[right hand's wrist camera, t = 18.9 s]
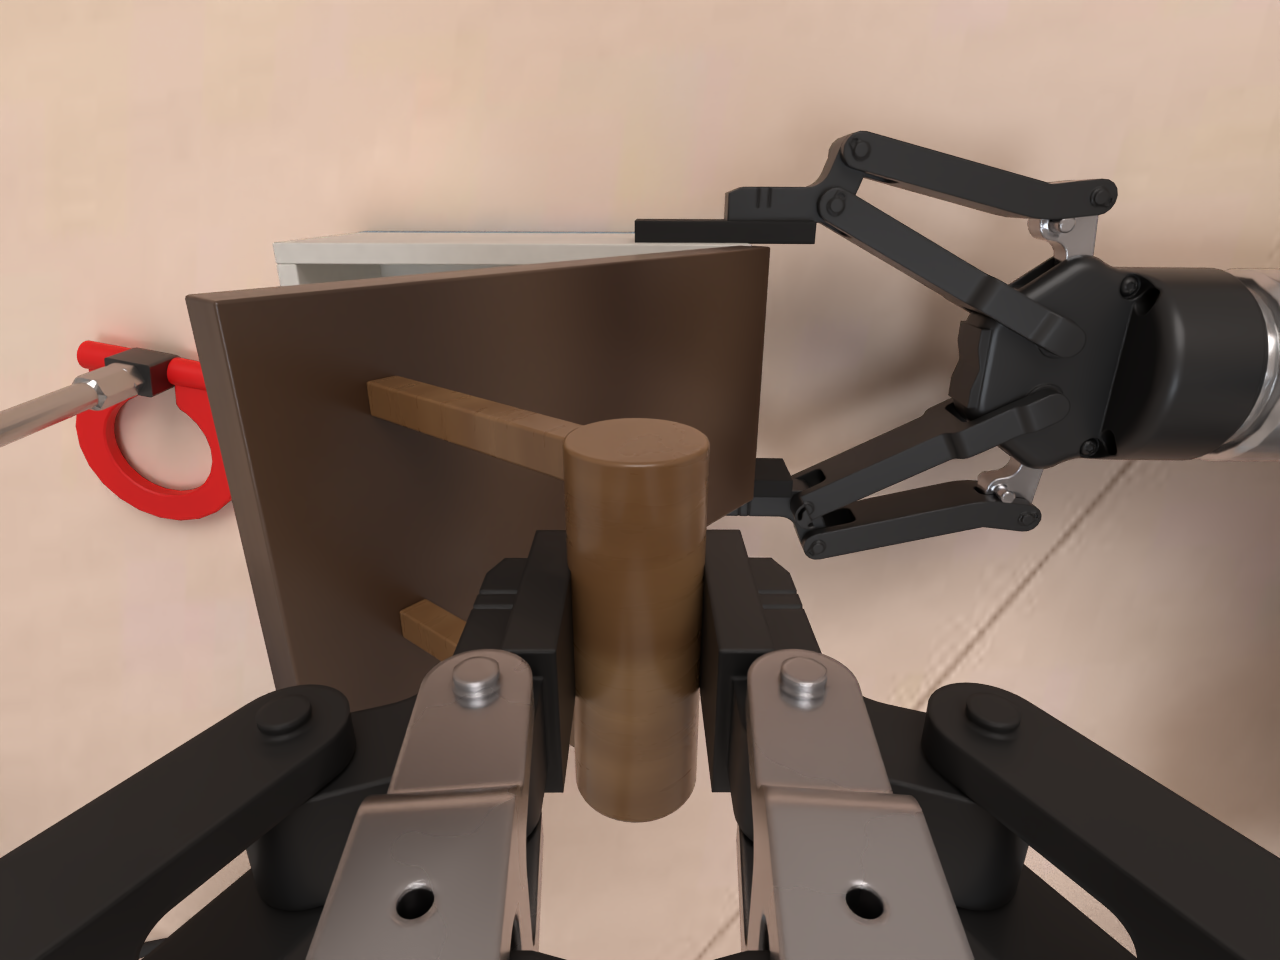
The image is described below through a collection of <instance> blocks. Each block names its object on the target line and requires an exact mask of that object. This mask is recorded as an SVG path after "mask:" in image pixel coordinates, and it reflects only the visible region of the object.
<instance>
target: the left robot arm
mask: <svg viewBox="0 0 1280 960" xmlns="http://www.w3.org/2000/svg"><path fill="white" fill-rule="evenodd" d="M863 178H866V179H870V180H873V181H877V182H880V183H884V184H887V185H891V186H895V187H898V188H902V189H905V190H909V191H912V192H916V193H920V194H923V195H927V196H930V197H934V198H937V199H941V200H945V201H948V202H952V203H955V204H959V205H962V206H966V207H970V208H973V209H977V210H980V211H984V212H987V213H991V214H995V215H999V216H1004V217H1013V218H1028V219H1029V220H1028V223H1027V224H1028V230H1029V232H1030V234H1031V235H1032V237H1034V238H1036V239H1040V240H1045V241H1047V242H1049V243H1050V244H1051V246H1052V248H1053V250H1054V256H1053V257H1051V258H1049V259H1048V260H1046V261H1044V262H1043V263H1041V264H1040V265H1038V266H1037V267H1035V268H1034V269H1032V270H1030V271H1029V272H1027V273H1026V274H1024V275H1023V276H1021V277H1020V278H1018V279H1016V280H1015V281H1013V282H1012V283H1010V284H1009V285H1007V284H1006V283H1004V282H1002V281H1000V280H998V279H996V278H994V277H992V276H990V275H988V274H986V273H984V272H982V271H981V270H979V269H977V268H976V267H974V266H972V265H971V264H969V263H967V262H966V261H964V260H962V259H961V258H959V257H957V256H956V255H954V254H952V253H951V252H949V251H947V250H946V249H944V248H942V247H941V246H939V245H937V244H936V243H934V242H932V241H931V240H929V239H927V238H926V237H924V236H922V235H921V234H919V233H917V232H916V231H914V230H912V229H911V228H909V227H907V226H906V225H904V224H902V223H901V222H899V221H897V220H896V219H894V218H892V217H891V216H889V215H887V214H886V213H884V212H882V211H881V210H879V209H877V208H876V207H874V206H872V205H871V204H869V203H867V202H866V201H864V200H862V199H861V198H859V197H857V196H856V193H857V190H858V188H859V186H860V184H861V182H862V179H863ZM1117 196H1118V193H1117V187H1116V185H1115V183H1114V182H1112V181H1111V180H1109V179H1087V180H1066V181H1056V182H1044V181H1040V180H1037V179H1033V178H1030V177H1026V176H1023V175H1019V174H1016V173H1012V172H1009V171H1005V170H1002V169H998V168H994V167H991V166H987V165H984V164H980V163H977V162H973V161H970V160H966V159H963V158H959V157H956V156H952V155H949V154H945V153H942V152H938V151H935V150H931V149H928V148H924V147H921V146H917V145H914V144H910V143H907V142H903V141H900V140H896V139H893V138H889V137H885V136H882V135H878V134H875V133H871V132H868V131H858V132H856V133H852V134H849V135H846V136H843V137H841V138H839V139H837V140H836V141H835V142H833V143H832V145H831V147H830V149H829V153H828V159H827V161H826V164H825V166H824V168H823V171H822V173H821V175H820V177H819V178H818V179H817V180H816V181H815V182H814V183H813V184H811V185H810V186H807V187H739V188H736V189H734V190H732V191H729V192H727V193H725V212H724V219H637V220H635V243H749V244H815V233H816V223H820V224H822V225H823V226H825V227H827V228H829V229H830V230H832V231H834V232H835V233H837V234H839V235H840V236H842V237H844V238H846V239H847V240H849V241H851V242H852V243H854V244H856V245H857V246H859V247H861V248H863V249H864V250H866V251H868V252H869V253H871V254H873V255H874V256H876V257H878V258H879V259H881V260H883V261H885V262H886V263H888V264H890V265H891V266H893V267H895V268H896V269H898V270H900V271H902V272H903V273H905V274H907V275H908V276H910V277H912V278H913V279H915V280H917V281H919V282H920V283H922V284H924V285H925V286H927V287H929V288H930V289H932V290H934V291H936V292H937V293H939V294H941V295H942V296H943V297H944V298H946V299H947V300H949V301H951V302H952V303H954V304H956V305H957V306H959V307H961V308H963V309H964V310H966V311H968V312H969V313H970V315H969V317H968V318H967V321H961V323H960V329H959V335H958V348H959V361H958V364H957V366H956V368H955V370H954V373H953V375H952V377H951V382H950V388H949V394H948V395H949V396H950V397H952V398H950V399H948V400H946V401H944V402H942V403H939V404H937V405H935V406H933V407H931V408H929V409H928V410H926V411H925V413H924V415H923V416H921V417H920V418H918V419H915V420H913V421H911V422H909V423H906V424H904V425H902V426H900V427H898V428H895V429H893V430H891V431H889V432H887V433H884V434H882V435H880V436H878V437H876V438H873V439H871V440H869V441H867V442H865V443H862V444H860V445H858V446H856V447H854V448H851V449H849V450H847V451H845V452H843V453H840V454H838V455H836V456H834V457H831V458H829V459H827V460H825V461H823V462H820V463H818V464H816V465H814V466H812V467H809V468H807V469H805V470H803V471H801V472H798V473H796V474H794V475H792V476H791V475H790V473H789V471H788V469H787V467H786V465H785V463H784V460H783V458H756V464H755V479H754V494H753V500H751V501H749V502H747V503H746V504H744V505H742V506H741V507H739V508H737V509H736V510H734V511H732V512H730V513H729V514H727V515H725V516H738V515H740V516H748V515H749V516H780V517H785V518H788V519H790V520H791V521H792V522H793V524H794V528H795V530H796V533H797V536H798V538H799V540H800V543H801V545H802V547H803V550H804V552H805V554H806V555H807V556H808V557H809V558H811V559H824V558H829V557H834V556H839V555H844V554H849V553H854V552H859V551H864V550H869V549H874V548H879V547H884V546H889V545H894V544H899V543H904V542H909V541H914V540H920V539H925V538H930V537H935V536H940V535H945V534H950V533H955V532H960V531H965V530H970V529H975V528H980V527H988V528H996V529H1005V530H1014V531H1029V530H1031V529H1034V528H1035V527H1036V526H1037V525H1038V524H1039V522H1040V520H1041V513H1040V510H1039V509H1038V508H1037V507H1035V506H1034V505H1033V504H1032V500H1033V498H1034V495H1035V492H1036V489H1037V486H1038V483H1039V480H1040V477H1041V474H1042V472H1043V469H1046V468H1050V467H1053V466H1055V465H1057V464H1059V463H1061V462H1064V461H1067V460H1070V459H1075V458H1090V459H1116V460H1191V459H1195V458H1196V459H1201V460H1207V461H1280V269H1266V268H1240V269H1228V270H1225V271H1223V270H1220V269H1215V268H1160V267H1112V266H1110V265H1108V264H1106V263H1104V262H1103V261H1102V260H1100V259H1099V258H1097V257H1094V256H1093V254H1094V246H1095V238H1096V230H1097V222H1098V215H1101V214H1104V213H1106V212H1107V211H1108V210H1110V209H1111V208H1112V206H1113V205H1114V204H1115V202H1116V199H1117ZM995 446H998V447H999V448H1001V449H1002V450H1003V451H1005V452H1006V453H1007V454H1008V455H1010V456H1011V458H1010V461H1009V462H1008V464H1007V465H1006V466H1004V467H1003V468H1001V469H999V470H993V471H984V472H981V473H980V474H979V475H978V481H974V480H961V481H952V482H946V483H941V484H936V485H931V486H927V487H922V488H917V489H912V490H907V491H902V492H897V493H893V494H888V495H883V496H878V497H873V498H868V499H864V500H859V499H862V498H864V497H866V496H869V495H871V494H873V493H875V492H878V491H880V490H882V489H885V488H887V487H889V486H891V485H894V484H896V483H898V482H901V481H903V480H905V479H907V478H910V477H912V476H914V475H917V474H919V473H921V472H923V471H926V470H928V469H930V468H933V467H935V466H937V465H939V464H942V463H944V462H946V461H949V460H951V459H965V458H969V457H972V456H975V455H977V454H979V453H982V452H984V451H986V450H989V449H991V448H993V447H995ZM857 500H859V501H857Z"/></svg>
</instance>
